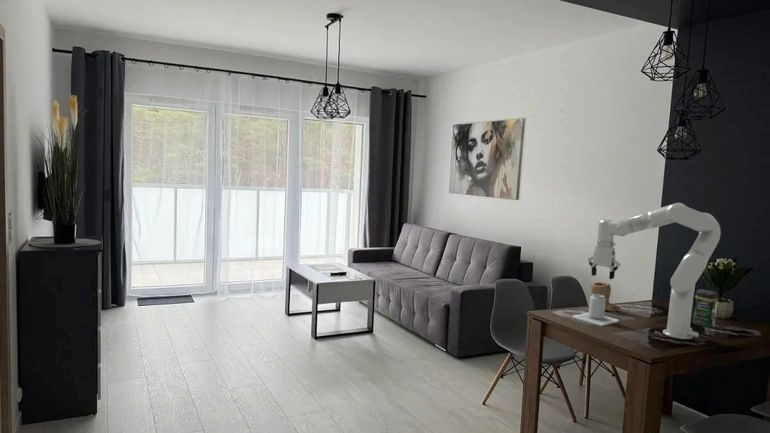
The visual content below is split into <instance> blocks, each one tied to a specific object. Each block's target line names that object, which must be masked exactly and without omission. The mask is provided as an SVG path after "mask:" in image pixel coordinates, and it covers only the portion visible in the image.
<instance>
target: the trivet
mask: <svg viewBox="0 0 770 433" xmlns="http://www.w3.org/2000/svg"><path fill="white" fill-rule="evenodd" d="M572 318H573V319H575V318H576V320H579V321H583V322H585V323H590V324H594V325H597V326H600V327H604V326H607V325H611V324H615V323H619V322H620V321H619V319H617V318H613V317H609V316H606V315H604V318H602V319H593V318H591V317H590V316H589V312H585V313H581V314H575V315H572Z"/></svg>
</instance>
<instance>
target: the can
mask: <svg viewBox="0 0 770 433" xmlns="http://www.w3.org/2000/svg"><path fill="white" fill-rule="evenodd" d="M604 297H605V296H604V295H600V294H592V293H591V296H590V297H589V306H588V313H589V316H590V317H591V318H593V319H602V318H604V316H605V311H606V310H605V303H606V299H605V298H604Z"/></svg>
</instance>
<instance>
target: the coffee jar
mask: <svg viewBox="0 0 770 433" xmlns="http://www.w3.org/2000/svg"><path fill="white" fill-rule="evenodd" d="M718 296H719V295H718V292H717V291H714V290H713V291H712V290H710V289H709V290H708V289H703V288H700V289H699V288H698V289H697V290H696V293H695V296H694V298H695V306H694V307H695V308H694V312H693V317H692V320H691V322H692V323H693V324H694V325H697V326H700V327H704V326H705V328H714V326H715V325H716V324H715V321H716V314H715V313H716V305H717V302H718V300H719V299H718Z"/></svg>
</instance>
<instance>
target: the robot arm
mask: <svg viewBox="0 0 770 433" xmlns="http://www.w3.org/2000/svg"><path fill="white" fill-rule="evenodd" d="M674 223H676V224H679V225H681V226H684V227H687V228H688V229H689V228H690V229H692V230H694V231H697V232H698V236H697V238H696V239H695V240H694V243H693V244H692V245H691V248H690V249H689V251H688V252H687V253H686V254H685V255H684V256H683V258H682V260H681V261H680V262H679V265H678V266H677V268H676V270H675V271H674V273H673V275H672V276H671V277H670V287H671V289H670V295H669V296H670V298H669V304H668V305H669V306H668V315H667V323H666V328H665V329H663V330H662V334H664V335H665V336H668V337H671V338H674V339H675V338H676V339H681V340H690V339H691V340H692V339H693V338H694V337H695V338H698V337H699V332H697V331H694V330H693V327H691V322H692V319H691V318H692V313H693V303H694V298H695V296H694V295H695V288H696V283H697V282H698V280H699V279H700V277H701V275H702V274H703V272H704V271H705V270H706V267H707V264H708V262H709V260H710V257H712V254H713V252H714V251H715V249H716V248H717V245H718V244H719V242H720V239H721V233H722V232H721V225H720V223H719V222H718V220H717V219H716V218H715V217H714V216H713V215H712V214H711V213H708V212H701V211H699V210H696V209H694V208H690V207H689V206H687V205H685V204H684V203H682V202H674V203H672V204H668V205H666V206H662V207H658V208H656V209H652V210H649V211H646V212H644V213H642V214H640V215H637V216H633V217H630V218H627V219H624V220H618V221H614V220H613V219H600V220H599V222H598V228H597V229H598V230H597V243H596V246H595V248H594V252H593V256H591V257H588V258H587V261H588V264H589V266H590V268H591V276H597V270H598V269H597V266H600V267H605V268H609V270H610V271H609V276H608V278H609V280H613V279H615V274H616V273H615V272H616V271H617V270H619V268H620V267H621V263H620V262H619V261H618V260H616V248H615V246H616V242H615V241H614V238H615V237H614V236H618V237H625V236H627V235H630V234H634V233H637V232H641V231H645V230H648V229H651V230H652V229H656V228H658V227H660V228H661V227H663V226H666V225H670V224H674Z"/></svg>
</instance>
